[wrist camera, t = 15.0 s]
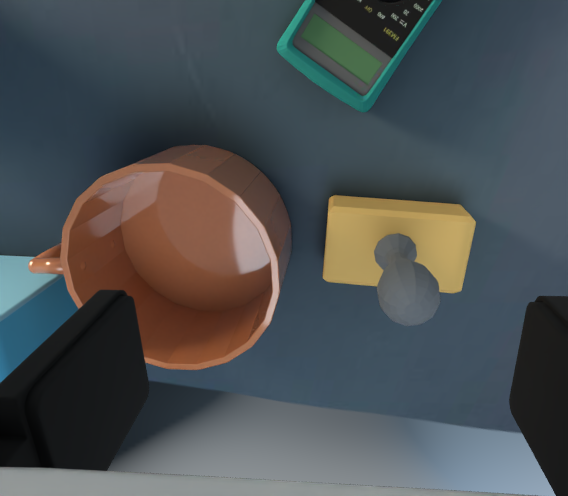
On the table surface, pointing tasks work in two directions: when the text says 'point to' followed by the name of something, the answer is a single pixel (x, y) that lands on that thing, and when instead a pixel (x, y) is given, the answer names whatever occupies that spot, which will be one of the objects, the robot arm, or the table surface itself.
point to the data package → (28, 310)
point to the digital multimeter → (353, 43)
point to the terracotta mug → (181, 252)
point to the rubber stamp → (398, 251)
